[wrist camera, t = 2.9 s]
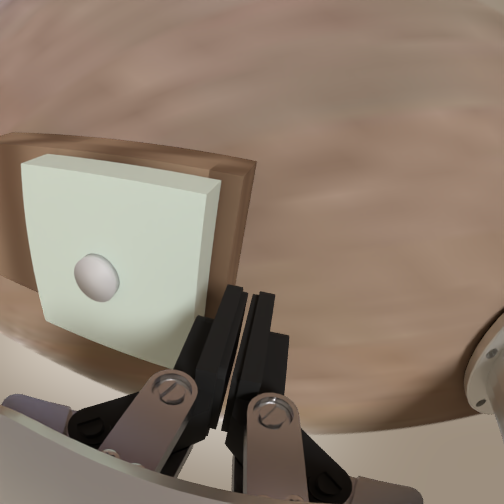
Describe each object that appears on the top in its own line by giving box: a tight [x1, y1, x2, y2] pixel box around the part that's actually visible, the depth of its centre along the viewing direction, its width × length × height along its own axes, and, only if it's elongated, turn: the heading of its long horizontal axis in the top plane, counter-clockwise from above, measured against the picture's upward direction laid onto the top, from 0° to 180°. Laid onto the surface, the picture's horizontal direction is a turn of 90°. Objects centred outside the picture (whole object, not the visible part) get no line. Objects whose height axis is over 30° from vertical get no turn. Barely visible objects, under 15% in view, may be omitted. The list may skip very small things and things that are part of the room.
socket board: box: [0, 133, 257, 319], centre depth 16 cm, size 16×9×3 cm, turn 80°
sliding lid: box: [21, 154, 221, 369], centre depth 13 cm, size 8×8×2 cm
